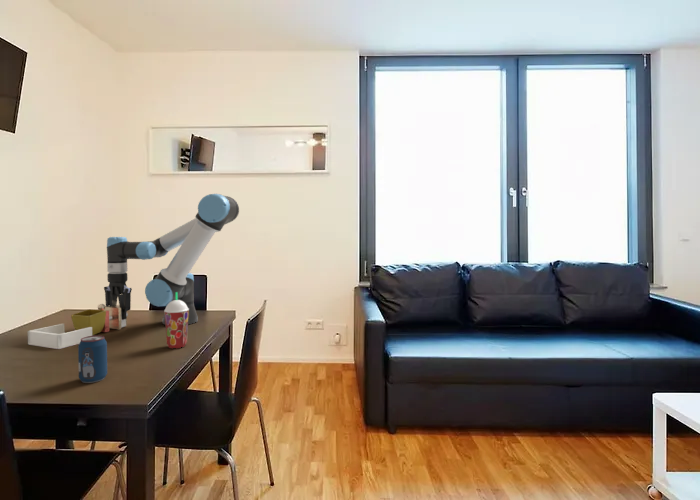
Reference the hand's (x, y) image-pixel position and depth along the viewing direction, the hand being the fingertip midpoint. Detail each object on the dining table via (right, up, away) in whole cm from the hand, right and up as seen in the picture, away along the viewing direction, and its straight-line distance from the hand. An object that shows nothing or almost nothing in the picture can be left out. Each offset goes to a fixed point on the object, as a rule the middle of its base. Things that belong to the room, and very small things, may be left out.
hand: (118, 326), depth 179 cm
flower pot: (-4, -1, -12) cm, 13 cm away
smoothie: (+37, -3, -27) cm, 46 cm away
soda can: (+27, -4, -61) cm, 67 cm away
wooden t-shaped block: (-1, 0, -3) cm, 3 cm away
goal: (-8, -2, -23) cm, 25 cm away
